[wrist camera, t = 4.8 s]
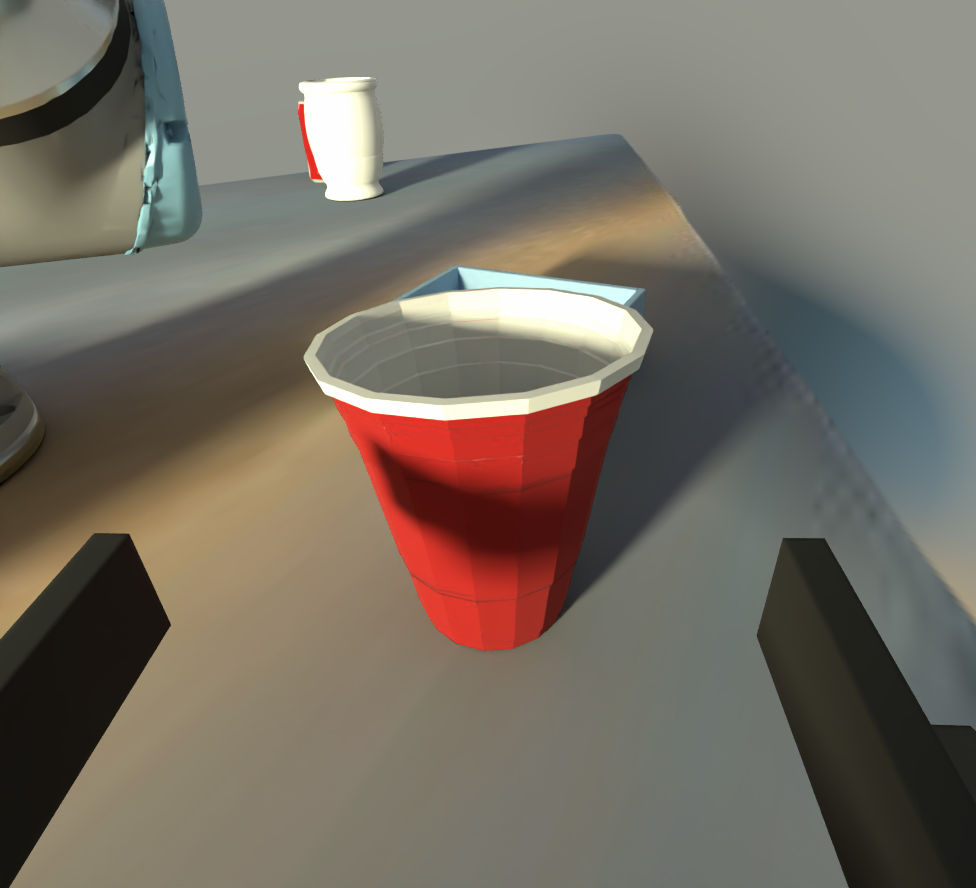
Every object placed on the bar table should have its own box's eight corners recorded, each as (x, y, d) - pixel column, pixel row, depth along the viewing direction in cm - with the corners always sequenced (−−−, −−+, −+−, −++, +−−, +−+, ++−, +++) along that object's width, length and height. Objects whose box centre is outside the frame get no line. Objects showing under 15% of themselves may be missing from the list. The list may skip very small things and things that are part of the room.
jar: (383, 185, 100) (369, 75, 92) (397, 198, 92) (383, 78, 83) (314, 193, 97) (294, 80, 89) (323, 207, 89) (301, 84, 81)
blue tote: (339, 404, 41) (326, 337, 38) (459, 320, 52) (455, 264, 49) (555, 459, 34) (557, 384, 32) (640, 351, 45) (646, 288, 43)
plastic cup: (569, 492, 32) (577, 252, 25) (675, 665, 23) (728, 365, 16) (352, 535, 30) (299, 287, 23) (375, 742, 21) (301, 436, 14)
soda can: (323, 175, 109) (309, 96, 103) (350, 176, 108) (338, 96, 101) (304, 182, 105) (288, 100, 99) (332, 183, 103) (318, 99, 97)
